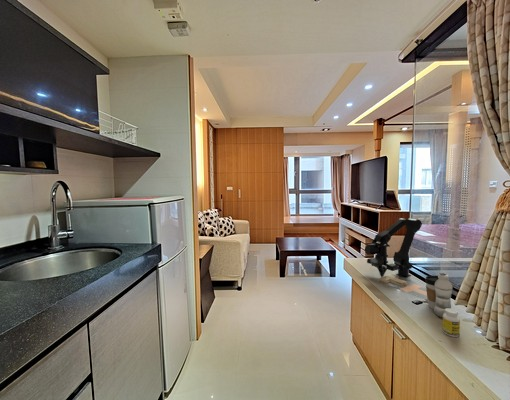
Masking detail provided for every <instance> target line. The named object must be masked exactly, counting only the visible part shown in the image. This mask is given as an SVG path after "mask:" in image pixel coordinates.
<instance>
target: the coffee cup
mask: <svg viewBox="0 0 510 400" xmlns="http://www.w3.org/2000/svg"><path fill="white" fill-rule="evenodd" d="M438 279H439V278H438V275H427V276H426V277H425V279H424V282H425V284H426V285H425V288H426V291H427V299H428V301H427V305H428V307H429V308H430V309H433V310H434V306H435V301H436V291H435V282H436V281H437V280H438Z"/></svg>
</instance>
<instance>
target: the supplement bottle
mask: <svg viewBox="0 0 510 400" xmlns="http://www.w3.org/2000/svg"><path fill="white" fill-rule="evenodd" d="M458 312H459V311H457V310H456V309H453V308H451V309H450V308H446V309H445V313H444V314H443V318H442V332H443V333H444V334H445V335H447V336H450V337H452V338H459V336H460V331H461V330H460V329H461V327H460V325H461V319H460V317H459V316H458V315H459V313H458Z"/></svg>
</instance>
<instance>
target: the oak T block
mask: <svg viewBox="0 0 510 400" xmlns="http://www.w3.org/2000/svg"><path fill="white" fill-rule="evenodd" d="M400 279H401V278H399V276H398V275H396V274H392V273H391V274H387V275H384V276H383V277H381V276H380V277H379V280H380V281H381V282H380V283H382V282H384V283H388V282H392V283H395V284H397V285H400V286H406V285H407V282H408V281H407V282H406V280H404V279H401V280H400ZM403 280H404V281H403ZM384 283H383V284H384Z"/></svg>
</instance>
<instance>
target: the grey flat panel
mask: <svg viewBox="0 0 510 400" xmlns="http://www.w3.org/2000/svg"><path fill="white" fill-rule="evenodd" d="M399 279H400V280H403V281H406V280H404V279H401V278H399ZM376 282H379V283H382V284H384V285H387V286H389V287H392V288H395V289H397V290H399V291H402V292H406V293H408V294H411V295H412V296H416V297H418V298H421V299H424V300H425V301H426V302H428V299H427V291H426V287H424V286H421V285H418V284H416V283H412V282H410V281H406V282H407V285H406V286H400V285H397V284H395V283H392V282H388V283H384V282H381V281H380V279H377V280H376Z"/></svg>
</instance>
